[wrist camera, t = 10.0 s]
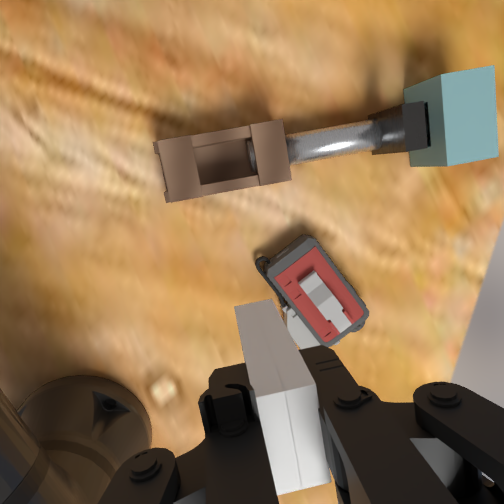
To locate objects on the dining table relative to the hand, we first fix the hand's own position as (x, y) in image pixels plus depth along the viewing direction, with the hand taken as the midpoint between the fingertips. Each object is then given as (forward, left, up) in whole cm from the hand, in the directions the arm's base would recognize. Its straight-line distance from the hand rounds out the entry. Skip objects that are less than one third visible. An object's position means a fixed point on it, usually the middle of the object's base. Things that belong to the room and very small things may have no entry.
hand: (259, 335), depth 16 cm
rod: (+14, +7, -28) cm, 32 cm away
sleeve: (+1, +7, -28) cm, 29 cm away
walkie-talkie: (+9, -11, -29) cm, 33 cm away
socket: (+24, +7, -28) cm, 38 cm away
